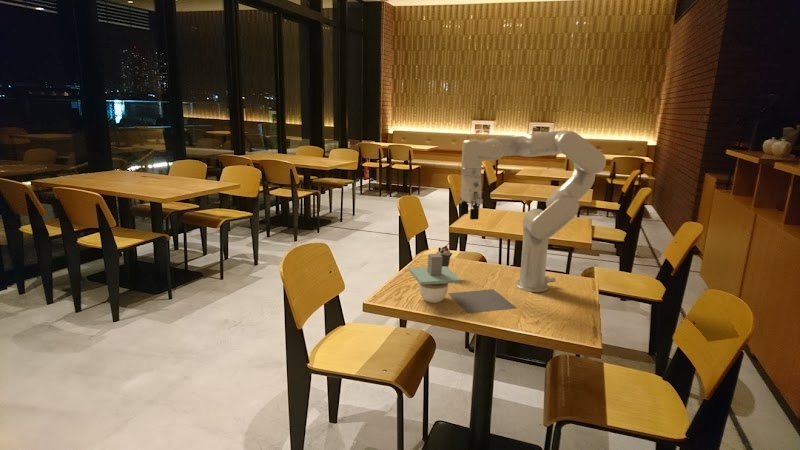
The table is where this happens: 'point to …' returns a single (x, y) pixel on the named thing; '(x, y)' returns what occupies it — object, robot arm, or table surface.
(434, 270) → the lid
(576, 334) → the table surface
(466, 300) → the mat
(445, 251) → the sundae
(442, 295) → the lidded jar
